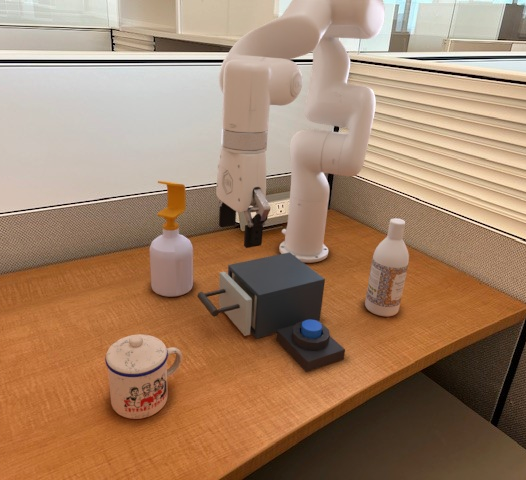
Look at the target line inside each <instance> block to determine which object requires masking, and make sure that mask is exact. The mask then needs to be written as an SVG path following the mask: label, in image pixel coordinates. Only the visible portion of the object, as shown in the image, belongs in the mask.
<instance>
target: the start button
mask: <svg viewBox="0 0 526 480" xmlns="http://www.w3.org/2000/svg"><path fill="white" fill-rule="evenodd" d="M321 324H322V323H321V322H320V321H316V320H311V319H309V320H305V321H303V322H302V327H301V334H302V335H303V336H305V337H307V338H314V339H315V338H319V337H320V336H321V332H322V325H321Z"/></svg>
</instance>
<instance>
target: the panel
mask: <svg viewBox="0 0 526 480" xmlns="http://www.w3.org/2000/svg"><path fill="white" fill-rule="evenodd" d="M302 322H303V321H302ZM302 322H299V323H297V324H296V325H293V326H290V327H286V328H283V329H279V330H277V333H276V337H275V340H276V341H277V342H278V343H279V344H280V346H282V348H283V349H285V351H286V352H287V353H288V354H289V355H290V356H291V357H292V358H293V360H295V361H296V362H297V364H299V366H300V367H301V368H302V369H303V370H304V371H305V372H306V373H308V372H311V371H315V370H316V369H317V370H318V369H320V368H322V367H325V366H328V365H331V364H334V363H337V362H341V361H343V360H344V359H345V354H346V348H344V347H343V346H342V345H341V344H340V343H338V341H337V340H335V339H334V337H332V336H331V334H330V330H329V328H328V327H326V325H325V324H323V323H321V325H322V332H321V336H320V337H319V338H315V339H314V338H307V337H305V336H303V335H302V334H301V327H302Z"/></svg>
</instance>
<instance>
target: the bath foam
mask: <svg viewBox="0 0 526 480" xmlns="http://www.w3.org/2000/svg"><path fill="white" fill-rule="evenodd" d="M405 228H406V221H405V220H404V219H402V218H396V217H395V218H394V217H393V218H391V219H390V220H389V224H388V229H387V236H386V237H385V238H384V239H382V240H381V241H380V242H379V244H378V245H377V246H376V248H375V250H374V251H373V255H372V260H371V265H370V272H369V277H368V282H367V288H366V295H365V301H364V302H365V303H364V306H365V308H366V309H367V310H368V312H370V313H371V314H374V315H376V316H378V317H379V316H380V317H393V316H395V315H397V314H398V313H399V311H400V306H401V301H402V296H403V292H404V287H405V282H406V278H407V273H408V268H409V263H410V262H409V261H410V254H409V249H408V247H407V245H406V243H405V241H404V239H403V238H404V234H405Z"/></svg>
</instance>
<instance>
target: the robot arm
mask: <svg viewBox="0 0 526 480" xmlns="http://www.w3.org/2000/svg"><path fill="white" fill-rule="evenodd" d="M385 17H386V7H385V3H384V0H291V1H290V3H289V4H288V6H287V7H286V9H285V10H284V11H283V13H282V15H280V16H279V17H278V16H277V17H276V18H274V19H271V20H269V21H268V22H266V23H264V24H261V25H259V26H257V27H255V28H253V29H251V30H250V31H248V32H246V33H244V35H242V36H241V37H240V38H238V40H237V41H236V42H235V43H234V44H233V46H232V47H231V48H230V50H229V51H228V53H227V54H226V56H225V57H224V59H223V61H222V63H221V65H220V69H219V74H218V85H219V88H220V91H221V92H222V110H221V111H222V115H221V116H222V117H221V140H220V141H221V142H220V143H221V145H220V150H219V155H218V162H217V163H218V165H217V173H216V187H215V194H216V197H217V199H218V205H219V211H218V212H219V213H218V214H219V215H218V227H220V228H227V227H228V228H229V227H233V226H235V225H236V224H237V223H236V221H237V213H238V214H242V213H243V214H244V217H245V221H246V223H247V224H246V225H245V224H244V236H243V237H244V239H243V247H244V248H246V249H249V248H255V247H261V246H262V243H263V231H264V230H263V229H264V225H266V222H267V221H268V217H269V214H270V211H271V210H272V209H271V205H270V203H269V202H268V200H267V198H266V196H267V157H266V156H267V155H266V152H267V150H268V149H267V148H268V136H269V135H268V133H269V121H270V106H280V107H281V106H286V105H290V104H291V103H293V102H294V101H295V100H296V99H297V98H298V97H299V95H300V93H301V91H302V89H303V84H304V83H303V80H304V79H303V72H302V71H301V68H300V67H299V65H298V64H297V63H296V62H294V61H293V60H292V59H296V58H299V57H304V56H306V55H309V54H310V53H311V52H312V66H311V70H310V71H311V72H310V77H309V82H308V87H307V91H306V92H307V93H306V96H305V97H306V98H305V103H304V115H305V118H306V119H307V120H308V121H309V122H311V123H315V124H320V125H324V126H325V125H326V126H332V127H339V128H346V129H347V130H348V133H345V132H339V131H333V130H326V129H319V128H304V129H300V130H298V131H297V132H295V133H294V134H293V135H292V137H291V140H290V143H289V157H290V172H291V173H290V190H289V191H290V192H289V204H288V214H287V215H288V216H287V225H286V228H283V229H282V230H281V234H282V235H284V240H283V241H282V242H281V243H280V244H279V247H278V248H279V250H278V251H279V254H284V253H289V252H290V253H291V254H292V255H294V256H295V257H296V258H298V259H299V260H300V261H302V262H303V263H304V264H306V263H307V264H311V263H318V262H321V261H324V260H326V258H328V256H329V248H328V247H327V245H325V244H324V240H325V233H326V226H327V218H328V217H327V216H328V209H329V200H330V184H329V182H328V179H327V176H326V175H325V174H331V175H336V176H343V177H356V176H357V175H359V173H360V172H361V171H362V169H363V167H364V162H365V159H366V156H367V152H368V151H367V150H368V146H369V142H370V137H371V132H372V128H373V122H374V117H375V114H376V113H375V112H376V105H377V103H376V95H375V93H374V90H373V89H372V88H371V87H369V86H366V85H362V84H354V83H353V84H352V83H348V79H349V74H350V68H351V58H350V56H349V53H348V52H347V49H346V48H345V46H344V45H343V43H342V41H341V40H340V39H354V40H355V39H356V40H371V39H374V38H376V37H377V36H378V35H379V34H380V32H381V31H382V28H383V26H384V24H385V23H384V22H385V19H386V18H385ZM252 213H255V215H254V216H252Z"/></svg>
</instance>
